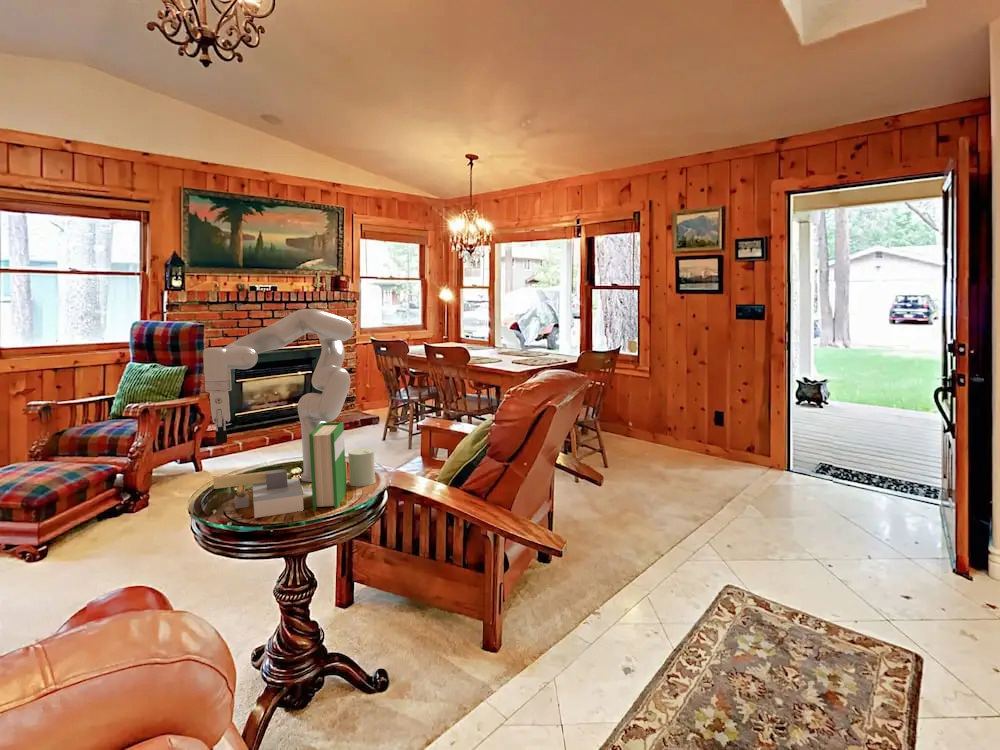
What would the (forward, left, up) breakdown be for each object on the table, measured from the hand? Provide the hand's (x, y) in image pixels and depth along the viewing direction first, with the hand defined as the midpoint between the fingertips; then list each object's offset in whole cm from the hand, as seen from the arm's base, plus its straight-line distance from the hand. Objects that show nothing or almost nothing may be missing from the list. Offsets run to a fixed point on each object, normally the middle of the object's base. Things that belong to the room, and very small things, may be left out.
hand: (221, 442), depth 181 cm
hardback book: (-31, +13, -20) cm, 39 cm away
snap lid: (-15, +13, -15) cm, 25 cm away
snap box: (-13, +12, -20) cm, 26 cm away
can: (-44, -1, -20) cm, 49 cm away
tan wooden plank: (-7, +6, -16) cm, 19 cm away
